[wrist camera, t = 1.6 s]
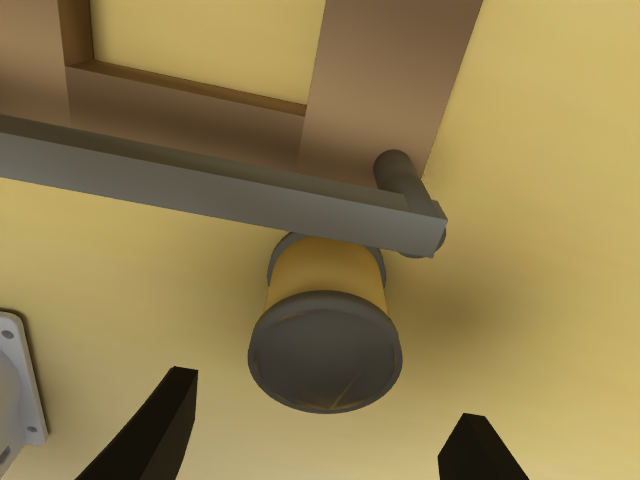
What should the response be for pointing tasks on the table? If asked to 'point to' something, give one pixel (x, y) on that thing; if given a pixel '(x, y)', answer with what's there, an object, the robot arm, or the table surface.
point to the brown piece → (244, 124)
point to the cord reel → (325, 327)
